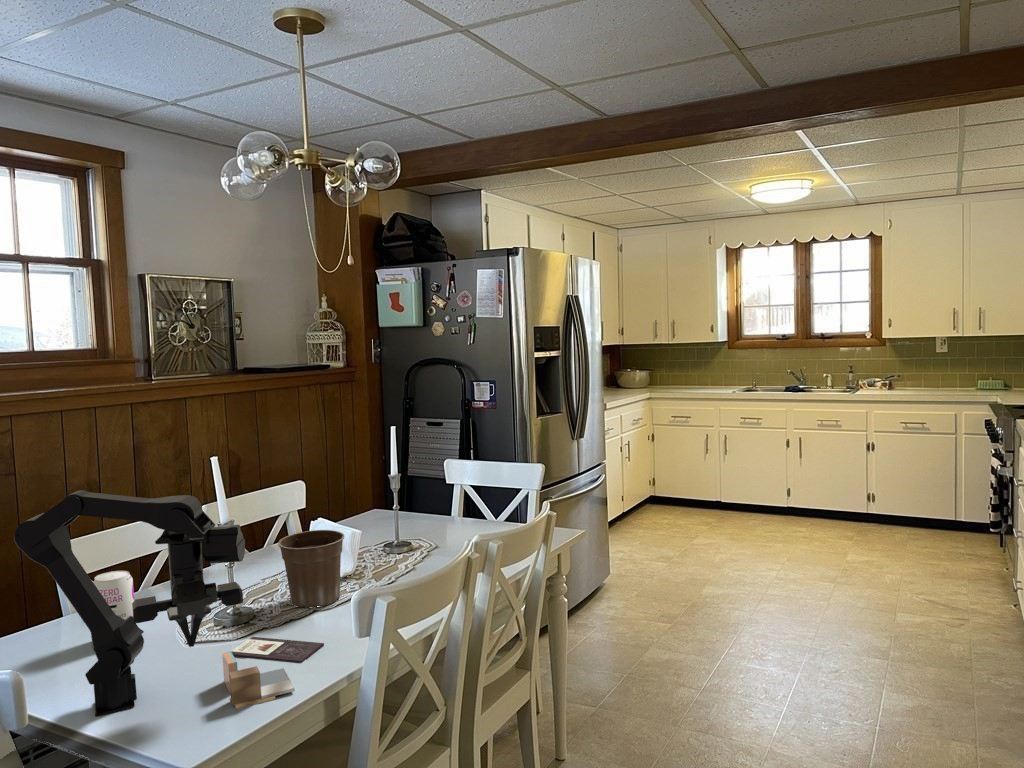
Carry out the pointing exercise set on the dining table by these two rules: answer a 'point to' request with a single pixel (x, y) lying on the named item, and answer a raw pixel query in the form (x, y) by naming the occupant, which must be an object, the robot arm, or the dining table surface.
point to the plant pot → (313, 566)
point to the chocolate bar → (277, 649)
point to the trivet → (273, 677)
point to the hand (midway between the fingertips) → (191, 646)
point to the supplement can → (117, 591)
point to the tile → (228, 666)
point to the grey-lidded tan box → (254, 686)
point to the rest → (253, 702)
